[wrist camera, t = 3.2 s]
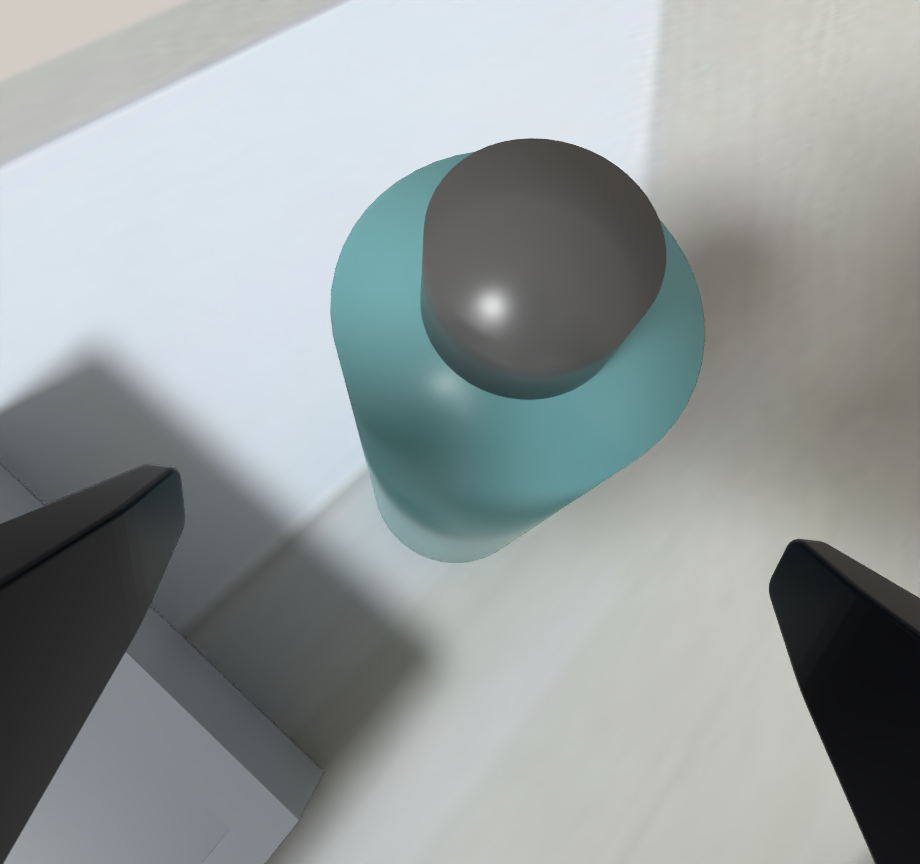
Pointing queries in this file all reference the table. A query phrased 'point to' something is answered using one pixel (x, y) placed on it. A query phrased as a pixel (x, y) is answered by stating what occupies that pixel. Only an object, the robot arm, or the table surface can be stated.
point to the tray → (165, 762)
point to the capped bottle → (509, 340)
